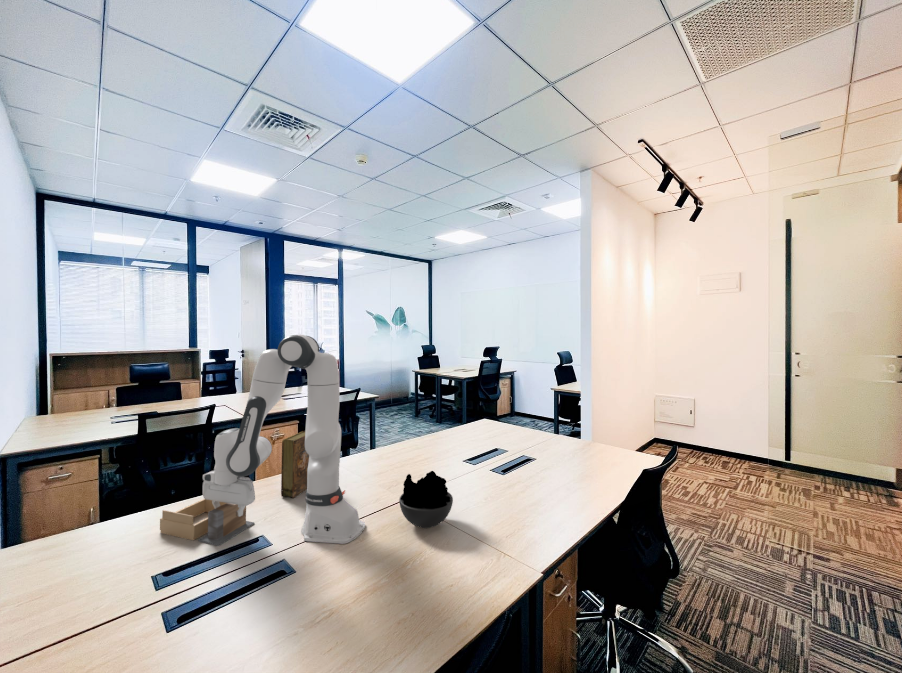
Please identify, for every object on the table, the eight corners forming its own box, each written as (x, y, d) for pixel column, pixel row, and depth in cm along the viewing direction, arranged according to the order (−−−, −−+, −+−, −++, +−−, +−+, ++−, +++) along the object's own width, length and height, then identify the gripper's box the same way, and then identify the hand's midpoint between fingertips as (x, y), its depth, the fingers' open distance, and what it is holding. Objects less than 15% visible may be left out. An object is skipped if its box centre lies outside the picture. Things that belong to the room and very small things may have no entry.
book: (303, 483, 175) (304, 430, 175) (314, 484, 174) (314, 431, 174) (281, 498, 159) (281, 440, 159) (292, 499, 158) (293, 440, 158)
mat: (254, 524, 137) (254, 522, 137) (218, 545, 123) (218, 544, 123) (235, 520, 140) (235, 518, 140) (197, 541, 125) (197, 539, 125)
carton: (236, 517, 142) (236, 496, 142) (194, 540, 126) (194, 517, 126) (204, 510, 147) (205, 490, 147) (159, 532, 130) (160, 510, 130)
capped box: (245, 523, 136) (246, 499, 136) (216, 540, 125) (217, 513, 125) (237, 521, 138) (237, 497, 137) (207, 538, 126) (208, 512, 126)
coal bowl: (460, 518, 144) (461, 470, 144) (437, 544, 125) (438, 489, 125) (416, 507, 152) (416, 462, 152) (388, 530, 134) (389, 479, 134)
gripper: (259, 474, 131) (259, 513, 131) (214, 468, 137) (214, 506, 137) (245, 481, 125) (245, 522, 125) (198, 475, 131) (198, 514, 131)
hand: (228, 513), depth 131 cm, fingers open, 8 cm apart
